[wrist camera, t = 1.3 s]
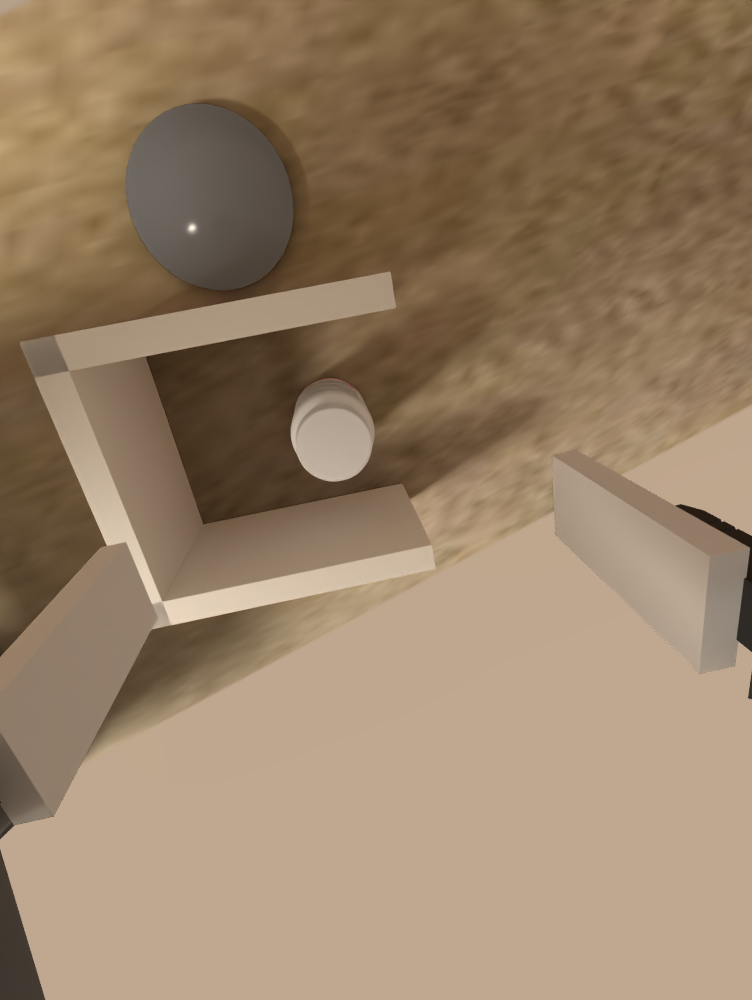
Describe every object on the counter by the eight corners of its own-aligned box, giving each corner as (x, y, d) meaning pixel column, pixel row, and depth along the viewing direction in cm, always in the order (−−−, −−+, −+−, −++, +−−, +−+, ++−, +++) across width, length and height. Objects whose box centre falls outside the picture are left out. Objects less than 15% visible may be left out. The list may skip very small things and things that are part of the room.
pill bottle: (279, 406, 33) (268, 437, 25) (336, 361, 32) (342, 379, 24) (324, 460, 34) (326, 505, 27) (379, 419, 34) (398, 452, 26)
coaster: (162, 303, 30) (158, 303, 29) (105, 124, 26) (99, 119, 26) (309, 275, 30) (309, 274, 29) (271, 95, 27) (270, 89, 26)
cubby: (188, 547, 36) (143, 631, 26) (110, 331, 30) (18, 342, 21) (405, 502, 36) (435, 568, 27) (368, 282, 31) (390, 271, 21)
